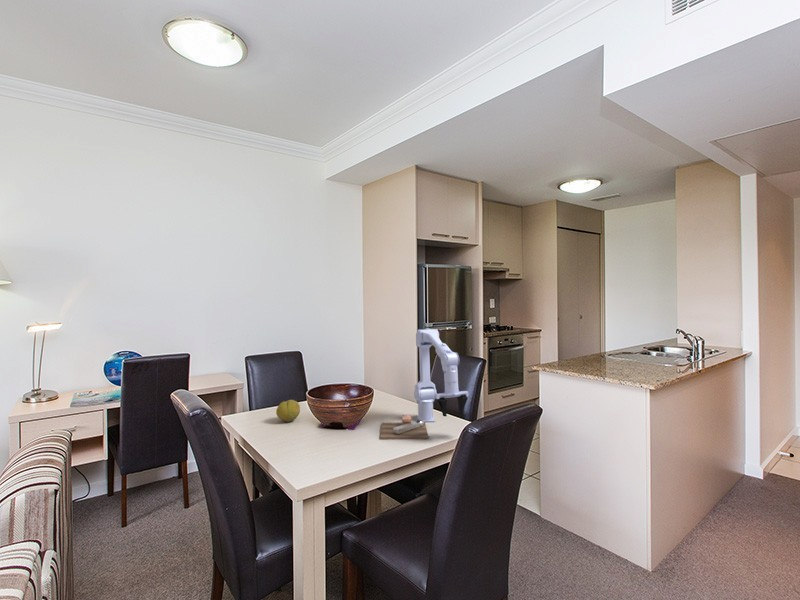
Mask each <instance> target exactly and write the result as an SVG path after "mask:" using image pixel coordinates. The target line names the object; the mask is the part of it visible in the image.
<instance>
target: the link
mask: <svg viewBox="0 0 800 600" xmlns="http://www.w3.org/2000/svg"><path fill="white" fill-rule="evenodd" d="M422 426H424V425H423V420H421V421H417V419H415V420H412V422H410V423H407V424H404V425H401V426H398V427H395V428H393V433H396V434H400V433H403V432H406V431H409V430H412V429H415V428H418V427H422Z"/></svg>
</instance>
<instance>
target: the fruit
mask: <svg viewBox="0 0 800 600" xmlns="http://www.w3.org/2000/svg"><path fill="white" fill-rule="evenodd" d="M275 413H276V416H277V418H278V419H279V420H282V421H284V422H288V423H289V422H293V421H295V420H296V419H297V417H298V416H299V415H300V413H301V406H300V404H299V402H298V401H296V400H294V399H288V400H286V401H285V400H284V401H281V403H279V405H278V406H277V408H276V412H275Z"/></svg>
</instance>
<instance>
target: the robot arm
mask: <svg viewBox="0 0 800 600" xmlns="http://www.w3.org/2000/svg"><path fill="white" fill-rule="evenodd" d="M415 345H416V347H418V352H419V353H418V354H419V355H418V357H419V376H420V377H419V379H420V380H419V381H418V382H417V383H416V384H415V385H414V391H413V394H414V399H415V401H417V415H416V419H417V418H421V420H423V422H425V423H427V422H429V423H430V422H432V423H433V422H435V418H434V402H435V400H436V402H437V403H438V405H439V407H440V410H441V413H442V416H443V417H447V413H448V412H447V405H448V400H447V398H448V399H449V398H456V400H457V403H458V414H459V415H464V410H465V406H466V403H467V401H468V399H469V398H468V397H469V391H467V390H461V391H460V390H459V373H458V372H459V371H458V370H459V369H458V366H459V365H460V356H459V353H458V352H454V351H452V350H451V348H449V346H448V345H447V344H446V342H445V343H444V342H442V340H441V339H440V332H439V331H438V329H436V328H432V329H430V328H429V329H417V331H416V333H415ZM431 347H434V348H435V353H436V354H437V356H438V358H439V359H440V364H441V367H442V372H443V378H444V379H443V381H444V392H441V393H437V389H436V384H435V383H434V382H432V381H431V361H430V360H431V359H430V358H431V357H430V348H431Z"/></svg>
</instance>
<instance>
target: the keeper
mask: <svg viewBox="0 0 800 600" xmlns="http://www.w3.org/2000/svg"><path fill="white" fill-rule="evenodd" d="M401 419H402V420H401V422H402V425H404V424H407V423H410V422H413V420H412V415H411V414H402V415H401ZM416 420H417V421H421V418H417V417H416Z"/></svg>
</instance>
